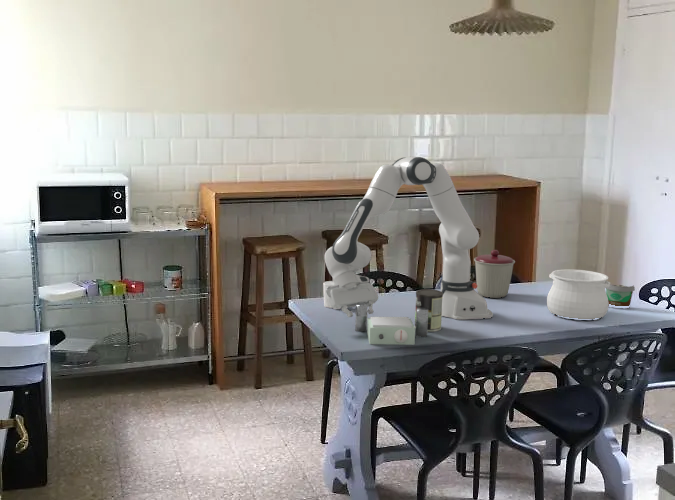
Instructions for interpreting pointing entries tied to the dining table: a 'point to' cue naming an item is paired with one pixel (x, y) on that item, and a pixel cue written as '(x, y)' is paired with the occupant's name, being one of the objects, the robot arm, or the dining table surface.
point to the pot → (578, 294)
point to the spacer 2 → (421, 322)
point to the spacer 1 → (361, 317)
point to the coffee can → (430, 307)
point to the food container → (619, 295)
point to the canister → (493, 274)
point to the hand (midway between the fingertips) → (361, 314)
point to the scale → (390, 330)
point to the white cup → (326, 299)
